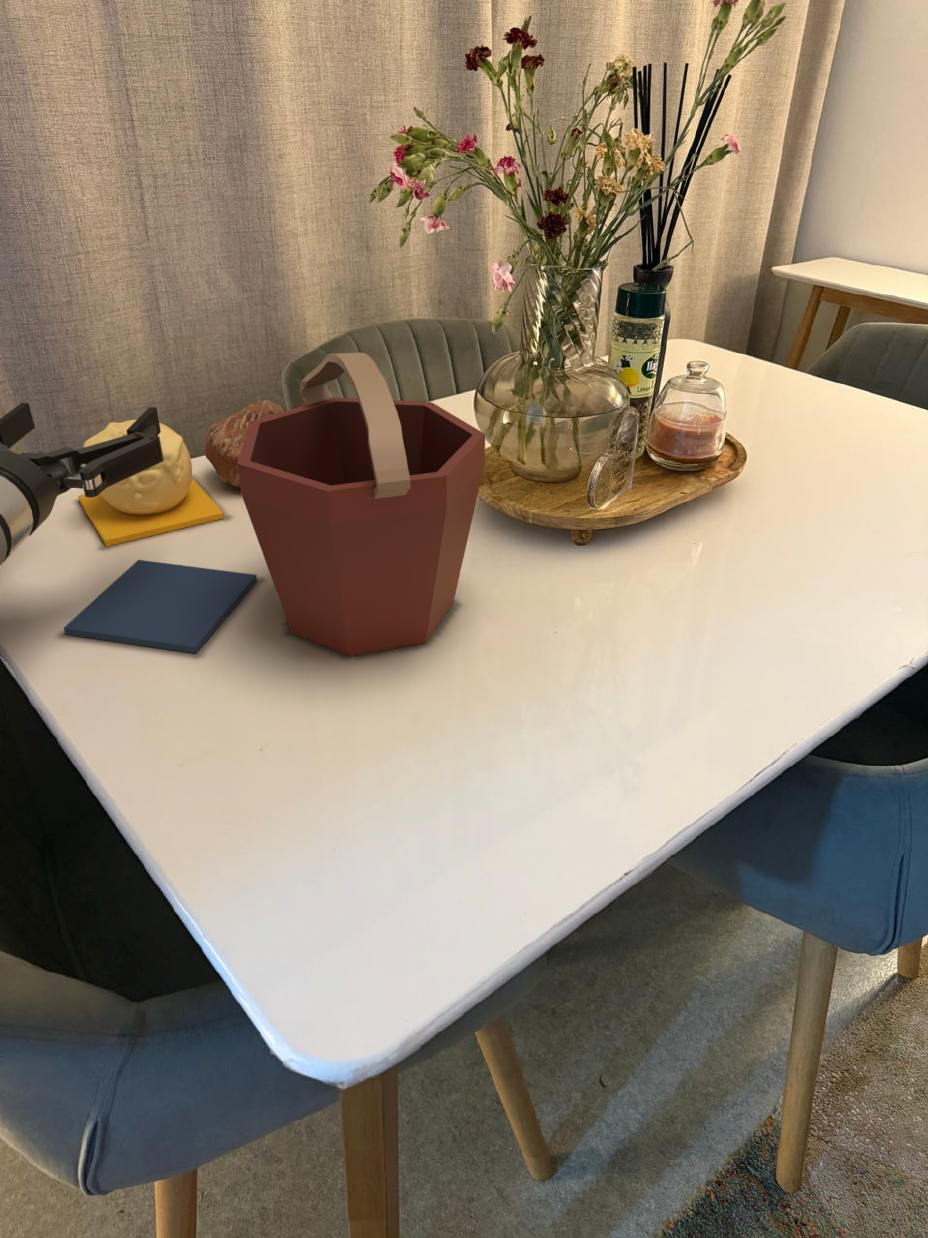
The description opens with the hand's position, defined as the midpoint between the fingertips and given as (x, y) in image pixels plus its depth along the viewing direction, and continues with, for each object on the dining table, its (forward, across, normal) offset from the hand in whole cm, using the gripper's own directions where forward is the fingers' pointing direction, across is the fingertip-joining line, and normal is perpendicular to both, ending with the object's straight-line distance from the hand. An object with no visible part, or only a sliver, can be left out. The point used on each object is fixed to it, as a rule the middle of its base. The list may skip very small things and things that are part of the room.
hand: (91, 417), depth 94 cm
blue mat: (-12, +9, -15) cm, 22 cm away
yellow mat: (+10, 0, -16) cm, 18 cm away
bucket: (-11, +31, -15) cm, 36 cm away
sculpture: (+10, 0, -15) cm, 18 cm away
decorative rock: (+20, +11, -16) cm, 28 cm away
